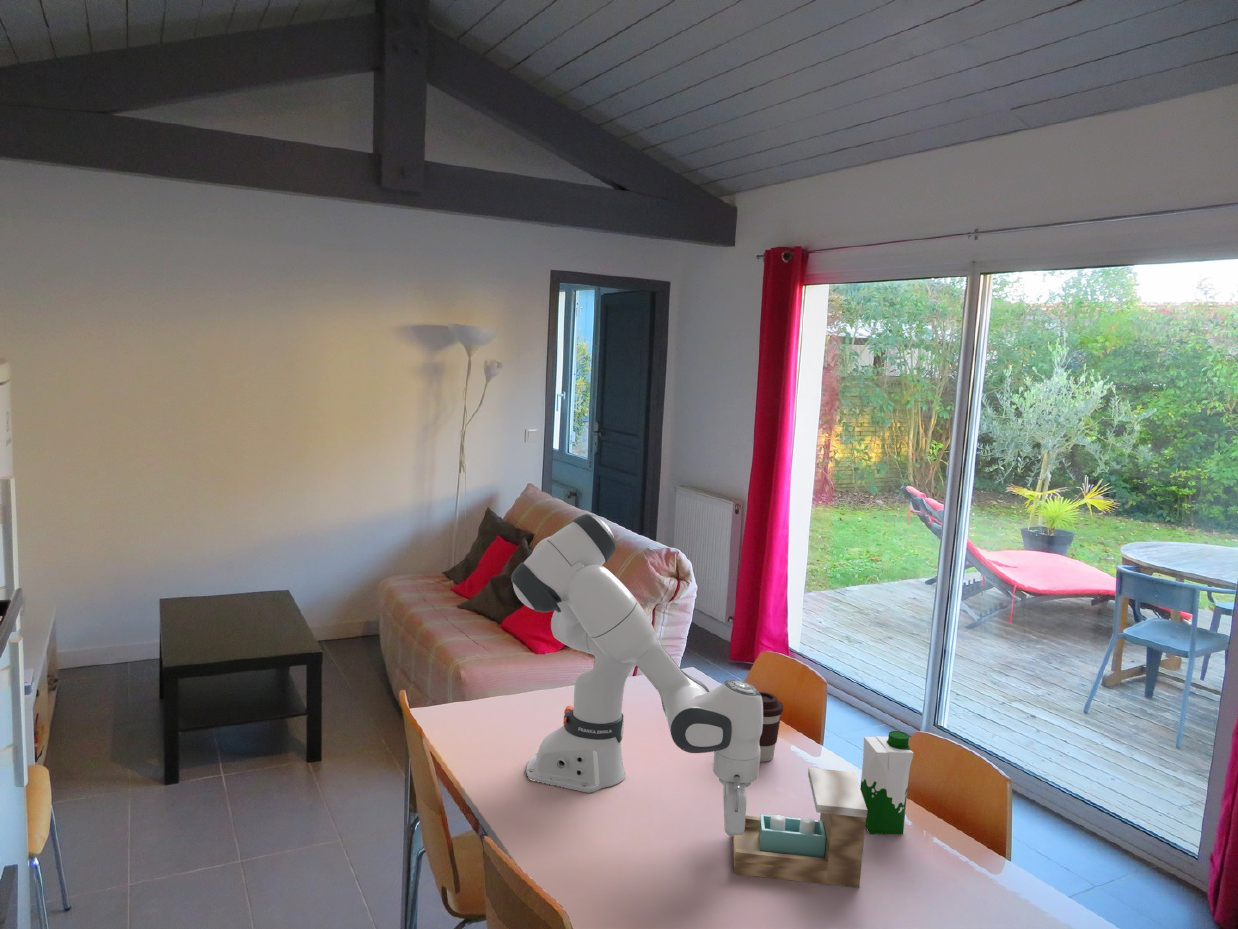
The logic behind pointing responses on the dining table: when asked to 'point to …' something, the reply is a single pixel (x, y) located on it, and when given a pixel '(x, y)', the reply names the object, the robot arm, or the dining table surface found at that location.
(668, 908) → the dining table surface
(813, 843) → the tray
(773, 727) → the coffee cup
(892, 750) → the milk carton
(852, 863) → the counter
